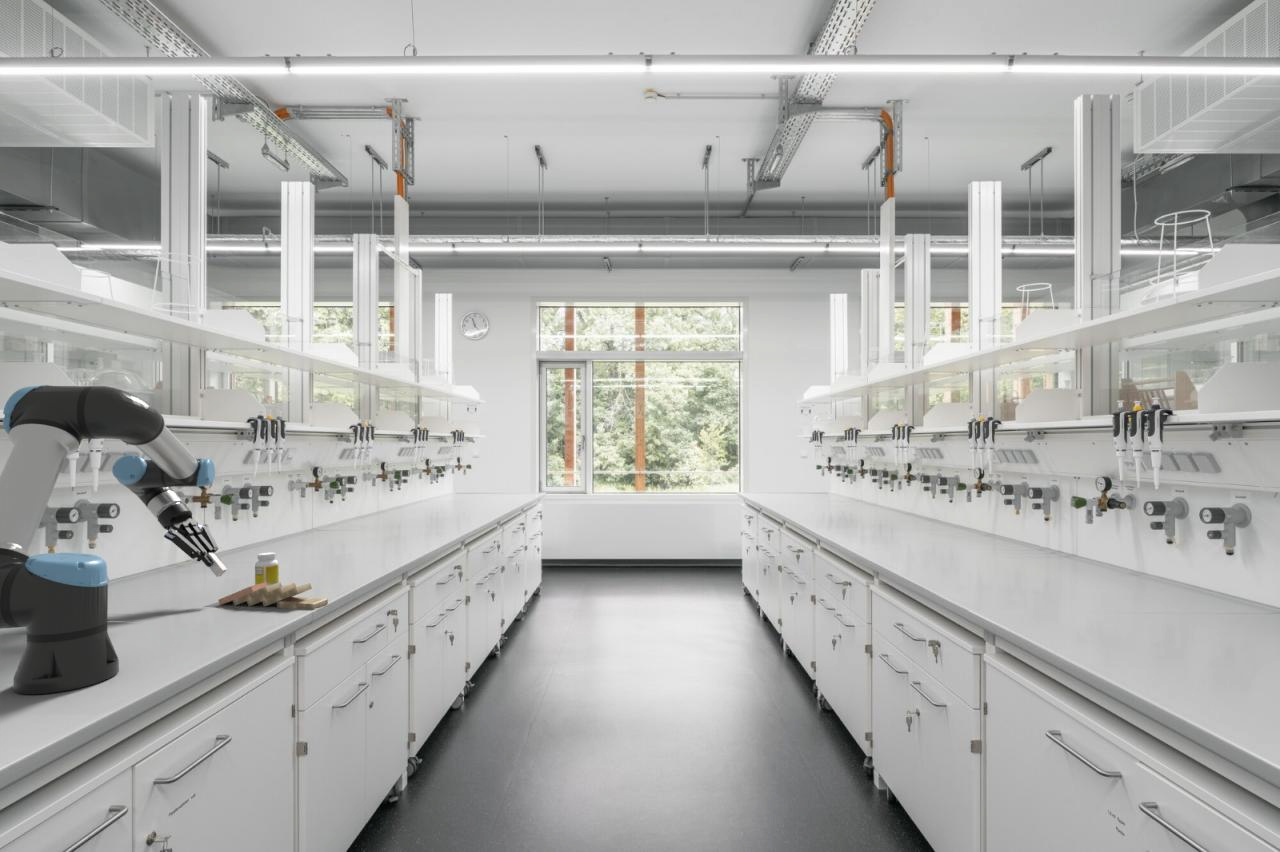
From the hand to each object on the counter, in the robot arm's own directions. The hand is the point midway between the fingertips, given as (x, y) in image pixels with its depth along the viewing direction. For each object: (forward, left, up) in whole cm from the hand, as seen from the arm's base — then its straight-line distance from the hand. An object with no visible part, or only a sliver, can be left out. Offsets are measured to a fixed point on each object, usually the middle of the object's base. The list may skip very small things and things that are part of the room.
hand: (222, 573), depth 188 cm
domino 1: (0, -2, -7) cm, 8 cm away
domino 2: (+2, -6, -7) cm, 10 cm away
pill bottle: (+16, +4, -9) cm, 18 cm away
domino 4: (+5, -15, -7) cm, 17 cm away
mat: (+3, -9, -8) cm, 13 cm away
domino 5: (+6, -19, -7) cm, 21 cm away
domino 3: (+3, -10, -7) cm, 13 cm away
